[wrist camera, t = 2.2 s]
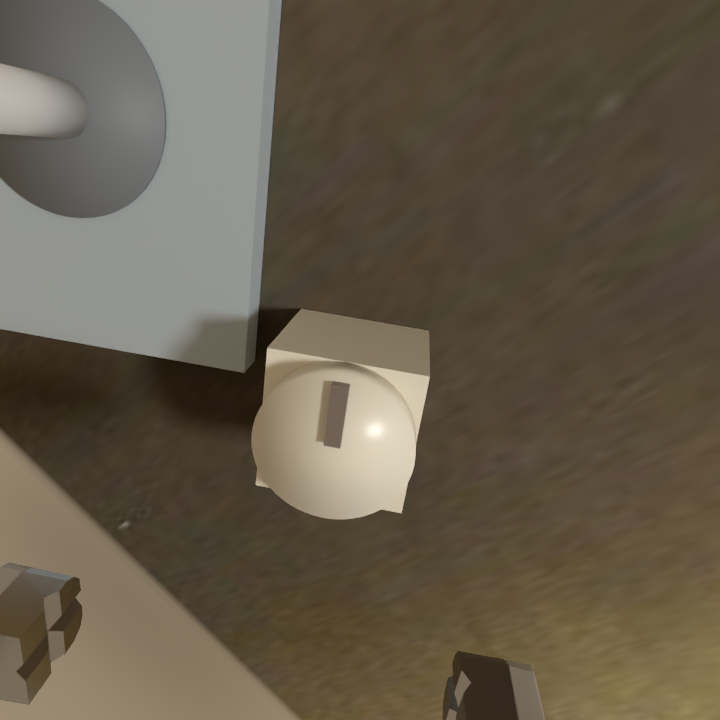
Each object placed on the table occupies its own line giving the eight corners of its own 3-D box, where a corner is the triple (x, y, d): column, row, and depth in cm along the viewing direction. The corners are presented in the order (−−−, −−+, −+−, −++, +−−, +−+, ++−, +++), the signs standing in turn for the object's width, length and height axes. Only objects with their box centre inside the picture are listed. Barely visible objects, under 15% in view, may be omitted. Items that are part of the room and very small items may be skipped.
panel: (254, 360, 26) (200, 422, 19) (-53, 306, 26) (-197, 348, 20) (288, -96, 19) (223, -220, 13) (-120, -147, 20) (-362, -285, 14)
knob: (406, 443, 26) (399, 538, 20) (289, 422, 26) (243, 507, 20) (428, 330, 24) (430, 393, 17) (301, 308, 24) (254, 362, 18)
